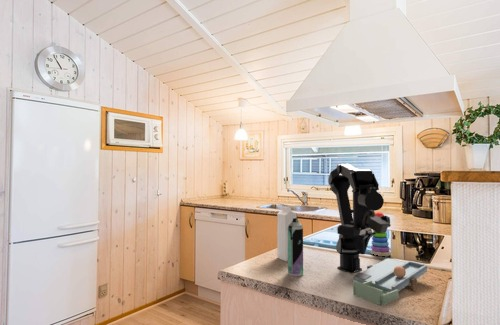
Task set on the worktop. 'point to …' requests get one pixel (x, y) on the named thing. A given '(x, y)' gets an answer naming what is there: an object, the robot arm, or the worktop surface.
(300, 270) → the spray can
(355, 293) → the tray
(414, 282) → the stand
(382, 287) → the grey flat rectangular piece
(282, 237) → the milk
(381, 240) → the stacking toy
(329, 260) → the worktop surface
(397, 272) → the ball
